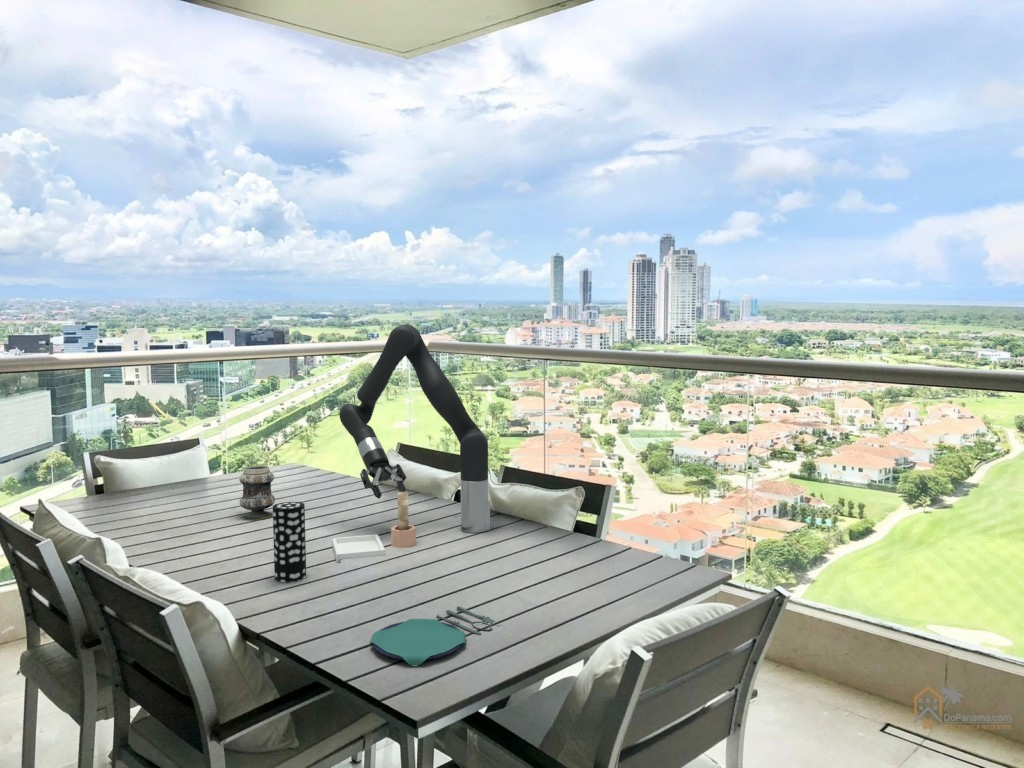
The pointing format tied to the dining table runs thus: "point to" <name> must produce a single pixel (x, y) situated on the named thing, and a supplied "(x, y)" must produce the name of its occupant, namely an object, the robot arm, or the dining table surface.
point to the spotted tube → (289, 541)
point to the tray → (357, 547)
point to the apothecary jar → (257, 492)
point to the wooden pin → (403, 511)
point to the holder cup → (403, 537)
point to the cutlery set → (424, 637)
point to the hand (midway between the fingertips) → (391, 495)
